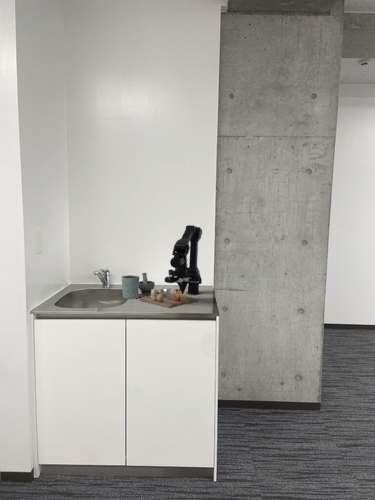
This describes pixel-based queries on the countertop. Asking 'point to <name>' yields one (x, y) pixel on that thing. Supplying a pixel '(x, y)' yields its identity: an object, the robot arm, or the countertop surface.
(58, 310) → the countertop surface
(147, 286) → the mortar and pestle
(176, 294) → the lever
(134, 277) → the teal ceramic pot
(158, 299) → the dough ball
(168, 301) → the board
